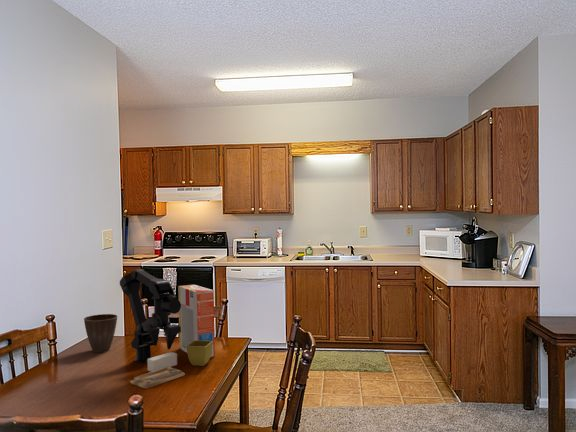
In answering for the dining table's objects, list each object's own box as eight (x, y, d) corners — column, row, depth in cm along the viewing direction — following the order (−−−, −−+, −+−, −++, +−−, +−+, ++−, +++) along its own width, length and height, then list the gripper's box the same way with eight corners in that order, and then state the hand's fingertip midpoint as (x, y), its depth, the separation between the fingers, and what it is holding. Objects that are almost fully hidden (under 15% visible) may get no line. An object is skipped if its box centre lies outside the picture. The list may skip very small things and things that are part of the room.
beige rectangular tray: (130, 383, 179) (130, 376, 179) (168, 370, 194) (168, 364, 194) (146, 388, 173) (145, 381, 173) (184, 375, 187) (184, 368, 187)
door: (147, 370, 194) (147, 358, 194) (171, 363, 204) (171, 351, 204) (153, 372, 192) (153, 360, 192) (177, 365, 201) (176, 353, 201)
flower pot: (206, 368, 196) (205, 346, 196) (186, 367, 198) (186, 345, 198) (213, 361, 204) (213, 340, 204) (194, 360, 206) (194, 340, 206)
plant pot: (106, 344, 236) (105, 312, 236) (124, 348, 227) (123, 315, 227) (78, 351, 224) (77, 318, 224) (96, 356, 215) (95, 321, 215)
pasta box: (214, 356, 212) (213, 290, 212) (198, 360, 207) (196, 292, 207) (195, 345, 231) (194, 284, 231) (179, 348, 226) (178, 286, 226)
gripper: (131, 311, 197) (132, 348, 197) (159, 316, 186) (159, 356, 186) (154, 306, 206) (154, 342, 206) (181, 311, 194) (182, 349, 194)
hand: (162, 347), depth 198 cm, fingers open, 9 cm apart
